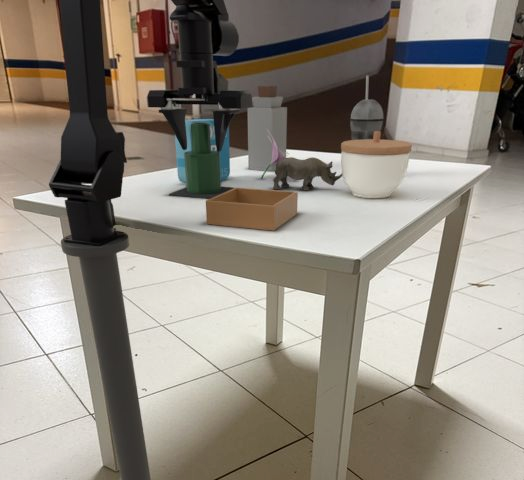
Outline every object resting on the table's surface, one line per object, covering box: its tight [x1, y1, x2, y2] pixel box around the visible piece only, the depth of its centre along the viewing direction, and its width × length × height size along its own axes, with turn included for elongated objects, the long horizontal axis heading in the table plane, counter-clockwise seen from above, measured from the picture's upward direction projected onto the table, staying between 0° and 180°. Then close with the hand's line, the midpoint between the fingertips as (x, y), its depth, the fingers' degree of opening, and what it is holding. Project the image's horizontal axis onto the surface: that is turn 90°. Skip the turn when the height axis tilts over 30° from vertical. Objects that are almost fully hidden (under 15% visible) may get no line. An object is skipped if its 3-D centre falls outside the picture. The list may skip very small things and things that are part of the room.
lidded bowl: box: [340, 131, 413, 199], centre depth 92 cm, size 13×13×11 cm
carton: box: [205, 187, 299, 232], centre depth 78 cm, size 11×11×4 cm
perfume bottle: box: [247, 85, 288, 172], centre depth 118 cm, size 7×7×18 cm
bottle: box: [184, 123, 222, 194], centre depth 94 cm, size 7×7×12 cm
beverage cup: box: [349, 75, 384, 140], centre depth 109 cm, size 7×7×20 cm
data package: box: [174, 118, 231, 184], centre depth 104 cm, size 12×4×12 cm, turn 144°
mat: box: [168, 186, 234, 200], centre depth 97 cm, size 10×10×1 cm
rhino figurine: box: [272, 156, 343, 191], centre depth 98 cm, size 4×14×6 cm, turn 81°
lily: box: [260, 128, 289, 180], centre depth 108 cm, size 12×12×10 cm
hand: (201, 150), depth 93 cm, fingers open, 7 cm apart
